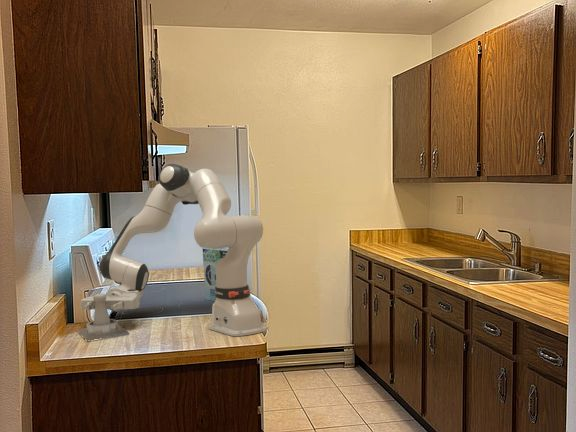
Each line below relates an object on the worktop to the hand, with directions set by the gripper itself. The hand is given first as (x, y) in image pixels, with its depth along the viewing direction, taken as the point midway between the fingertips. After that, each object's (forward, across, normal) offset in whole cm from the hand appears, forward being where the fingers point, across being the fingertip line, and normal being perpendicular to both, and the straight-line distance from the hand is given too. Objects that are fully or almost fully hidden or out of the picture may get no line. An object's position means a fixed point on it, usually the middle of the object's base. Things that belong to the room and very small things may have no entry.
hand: (99, 307), depth 193 cm
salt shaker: (-1, 0, +8) cm, 9 cm away
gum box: (-50, +30, +10) cm, 59 cm away
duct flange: (-1, 0, +9) cm, 9 cm away
